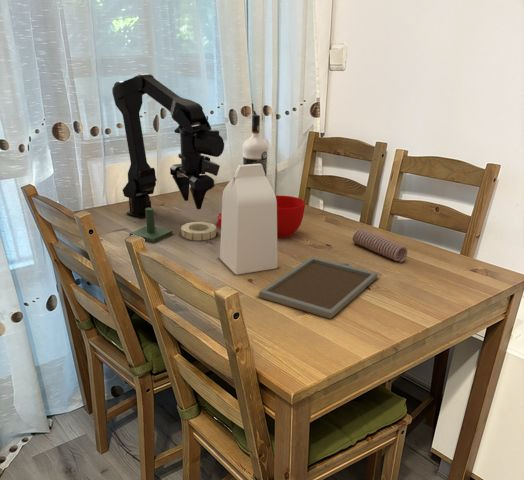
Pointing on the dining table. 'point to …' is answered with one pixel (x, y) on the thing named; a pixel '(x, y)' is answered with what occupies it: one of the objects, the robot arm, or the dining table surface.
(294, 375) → the dining table surface
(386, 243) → the coil
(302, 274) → the grey picture frame
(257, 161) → the vodka
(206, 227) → the ring
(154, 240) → the peg stand
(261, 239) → the milk
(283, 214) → the ceramic cup
